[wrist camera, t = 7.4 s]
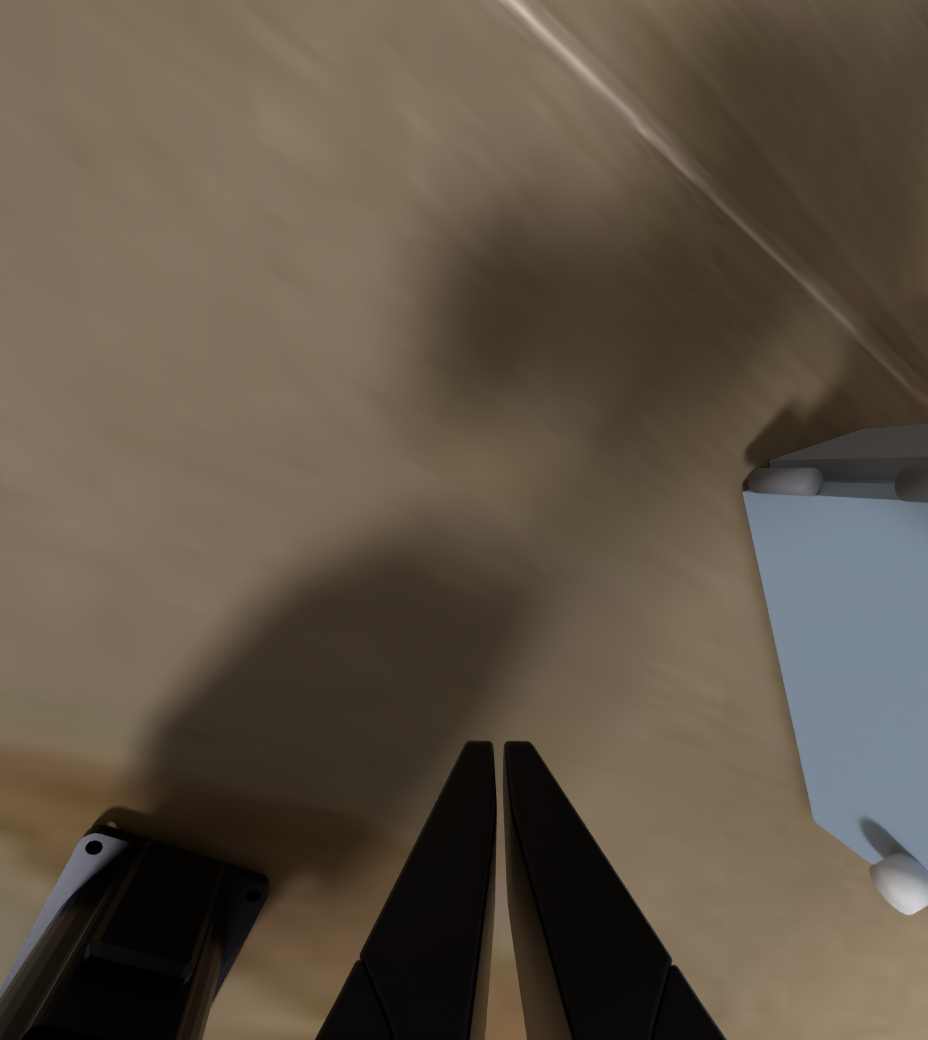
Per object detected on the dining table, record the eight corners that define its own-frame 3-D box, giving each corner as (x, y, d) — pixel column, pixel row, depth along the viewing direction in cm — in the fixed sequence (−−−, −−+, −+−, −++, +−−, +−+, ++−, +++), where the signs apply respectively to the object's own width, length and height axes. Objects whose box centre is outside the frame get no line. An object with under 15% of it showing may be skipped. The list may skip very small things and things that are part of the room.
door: (792, 831, 24) (1102, 1084, 14) (712, 477, 21) (1026, 483, 11) (840, 807, 24) (1171, 1035, 14) (767, 457, 21) (1113, 447, 12)
